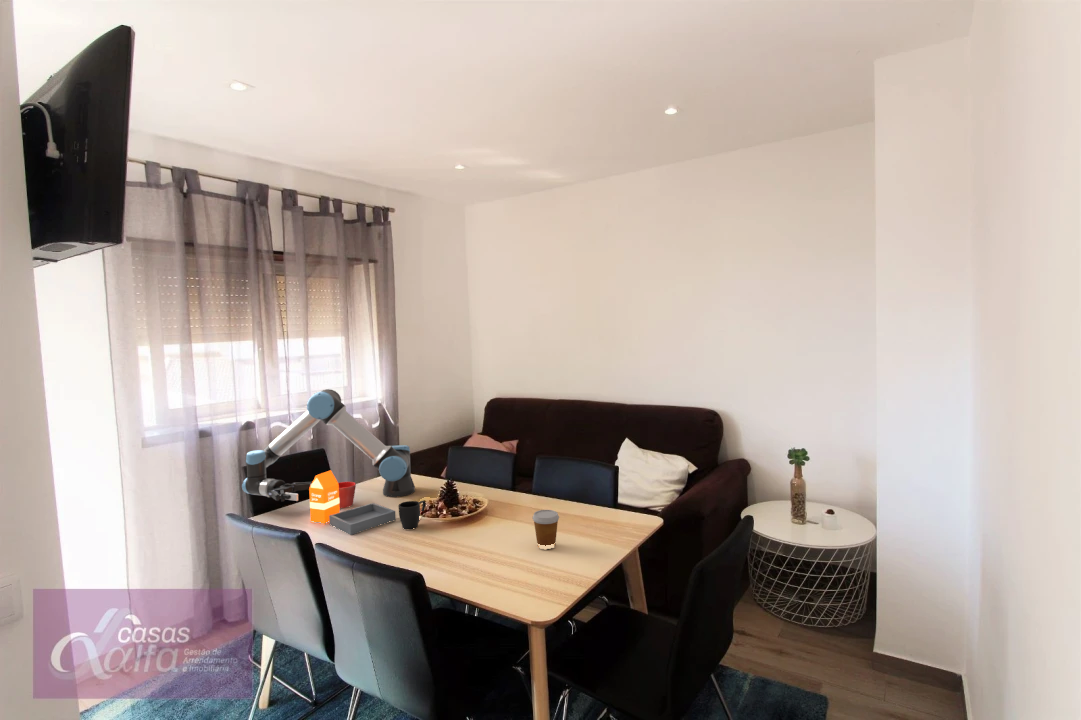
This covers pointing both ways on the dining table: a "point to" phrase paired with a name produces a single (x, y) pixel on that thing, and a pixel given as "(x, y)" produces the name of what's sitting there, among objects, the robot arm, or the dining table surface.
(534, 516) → the disposable coffee cup
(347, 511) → the tray
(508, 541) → the dining table surface
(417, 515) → the mug
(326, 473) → the orange juice
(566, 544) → the dining table surface
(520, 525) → the dining table surface
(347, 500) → the flower pot
